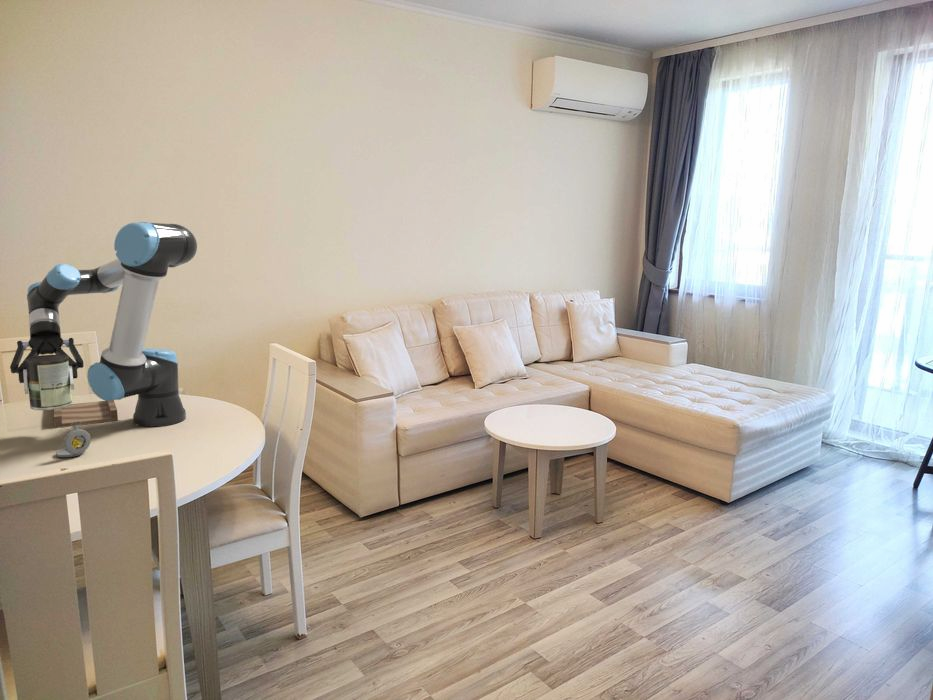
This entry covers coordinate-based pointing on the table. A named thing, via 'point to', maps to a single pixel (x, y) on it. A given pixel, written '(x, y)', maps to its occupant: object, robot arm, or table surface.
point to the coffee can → (48, 382)
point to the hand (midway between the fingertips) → (49, 389)
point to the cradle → (85, 413)
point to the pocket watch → (75, 442)
